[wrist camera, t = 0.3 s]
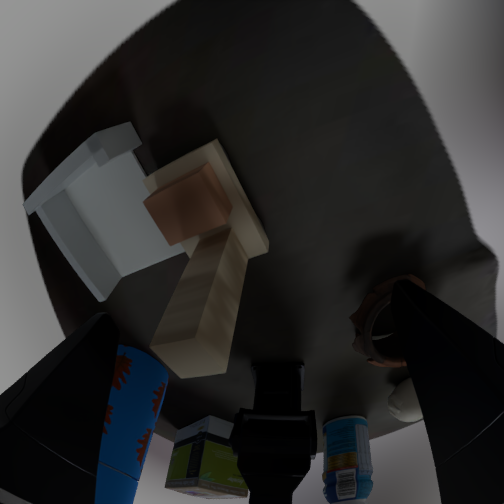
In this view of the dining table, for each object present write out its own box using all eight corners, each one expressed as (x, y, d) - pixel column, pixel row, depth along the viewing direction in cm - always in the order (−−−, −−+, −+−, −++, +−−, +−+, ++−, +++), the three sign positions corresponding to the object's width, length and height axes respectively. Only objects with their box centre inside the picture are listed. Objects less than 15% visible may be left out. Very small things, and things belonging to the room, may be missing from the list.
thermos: (96, 357, 38) (39, 487, 17) (118, 333, 33) (44, 499, 12) (151, 392, 41) (110, 520, 20) (183, 375, 37) (139, 537, 15)
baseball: (388, 373, 33) (397, 414, 27) (433, 364, 32) (446, 402, 26) (380, 396, 36) (386, 433, 31) (421, 387, 35) (430, 422, 29)
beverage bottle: (376, 415, 40) (386, 515, 23) (350, 432, 44) (353, 522, 28) (337, 411, 39) (341, 523, 22) (313, 429, 44) (311, 526, 27)
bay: (200, 243, 25) (184, 278, 20) (116, 278, 28) (95, 308, 24) (130, 121, 19) (94, 132, 15) (54, 183, 23) (22, 204, 18)
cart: (269, 235, 24) (256, 369, 13) (208, 257, 25) (160, 381, 14) (219, 136, 20) (139, 201, 9) (155, 170, 21) (51, 258, 10)
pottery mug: (328, 332, 30) (335, 361, 22) (364, 254, 29) (384, 258, 21) (413, 365, 28) (438, 397, 20) (447, 294, 27) (484, 308, 19)
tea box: (216, 443, 52) (206, 499, 40) (176, 428, 50) (161, 487, 37) (256, 429, 45) (248, 499, 33) (209, 412, 43) (194, 488, 30)
